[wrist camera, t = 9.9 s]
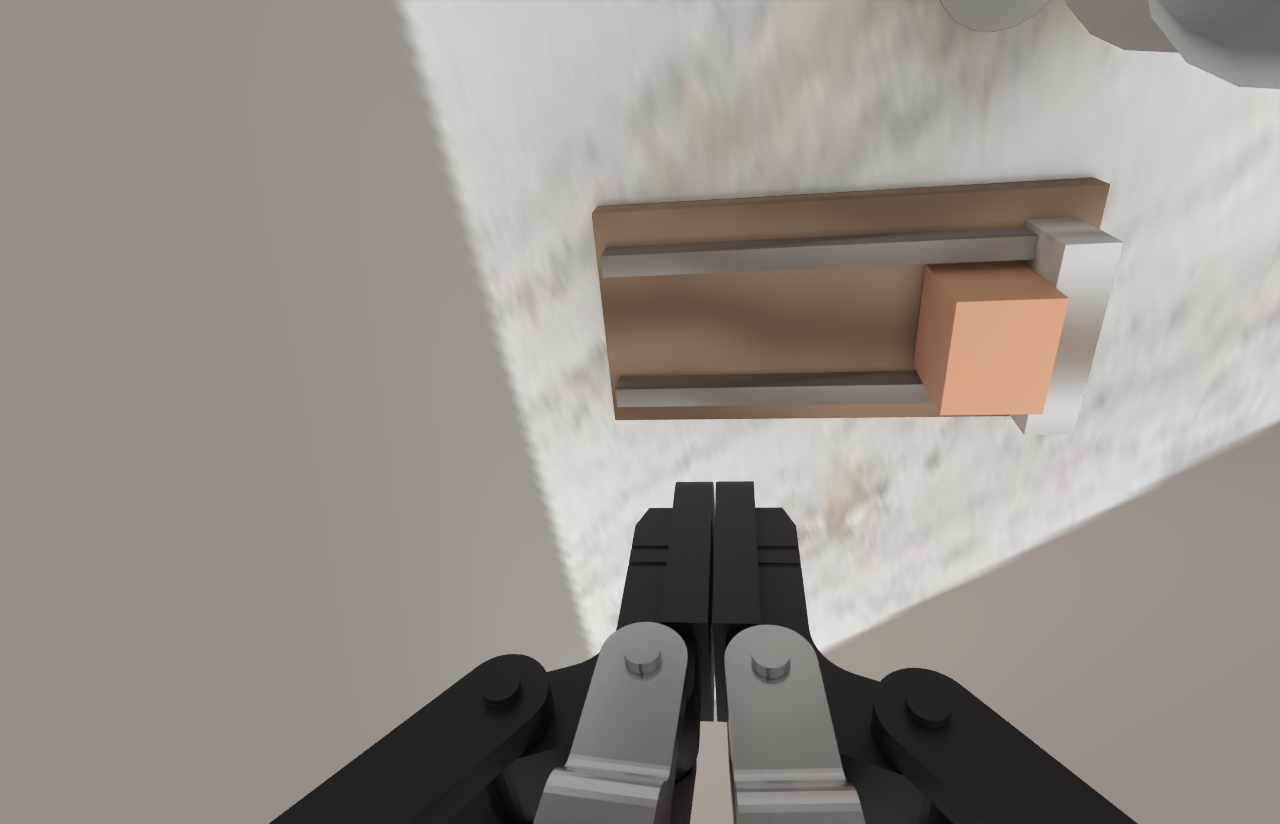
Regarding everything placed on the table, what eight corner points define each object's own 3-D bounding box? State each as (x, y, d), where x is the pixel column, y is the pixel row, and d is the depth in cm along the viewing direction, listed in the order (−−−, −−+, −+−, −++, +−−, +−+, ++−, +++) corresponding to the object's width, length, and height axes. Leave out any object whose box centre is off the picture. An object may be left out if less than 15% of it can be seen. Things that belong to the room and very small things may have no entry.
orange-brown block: (925, 263, 30) (956, 302, 26) (1021, 259, 30) (1069, 298, 26) (913, 364, 33) (940, 415, 28) (1001, 363, 32) (1042, 414, 28)
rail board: (597, 206, 33) (574, 235, 28) (1093, 177, 29) (1162, 205, 25) (619, 406, 38) (602, 460, 33) (1042, 401, 35) (1091, 459, 30)
